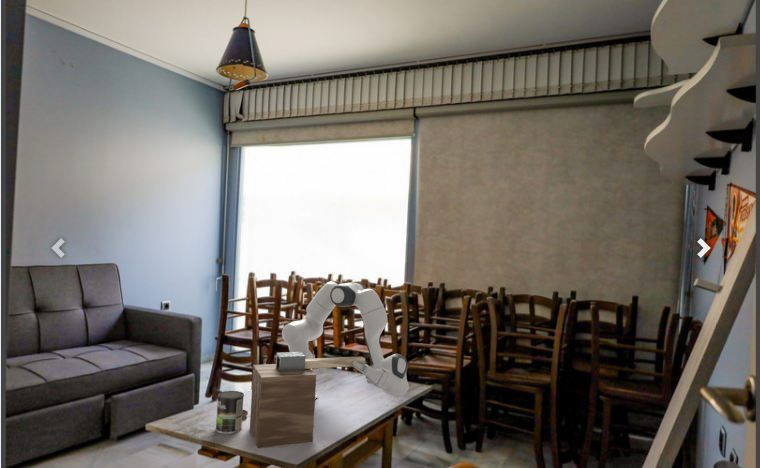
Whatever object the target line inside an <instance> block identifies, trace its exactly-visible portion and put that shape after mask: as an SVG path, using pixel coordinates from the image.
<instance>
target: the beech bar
mask: <svg viewBox="0 0 760 468" xmlns="http://www.w3.org/2000/svg"><path fill="white" fill-rule="evenodd" d="M353 360H355V361H356V362H358V363H360V364H362V365H363V363H364V364H366V357H363V356H344V357H343V356H341V357H338V356H337V357H324V358H323V357H319V358H318V357H317V358H315V357H314V358H313V359H305V369H309V368H312V369H325V368H327V369H328V368H344V367H347V368H348V367H353V366H354V365H353V364H352V361H353Z"/></svg>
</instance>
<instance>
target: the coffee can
mask: <svg viewBox="0 0 760 468" xmlns="http://www.w3.org/2000/svg"><path fill="white" fill-rule="evenodd" d="M244 397H245V393H243V392H242V391H239V390H238V391H237V390H227V391H226V390H225V391H221V392H219V393H218V394H217V406H216V421H215V432H217V433H218V434H222V435H224V434H225V435H227V434H229V435H230V434H231V435H233V434H236V433H239V432H240V431H242V428H243V427H242V426H243V425H242V423H243V418H242V412H243V410H244Z"/></svg>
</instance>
